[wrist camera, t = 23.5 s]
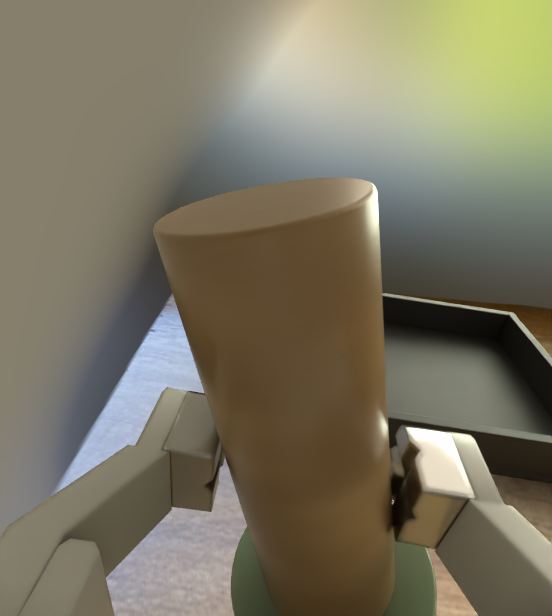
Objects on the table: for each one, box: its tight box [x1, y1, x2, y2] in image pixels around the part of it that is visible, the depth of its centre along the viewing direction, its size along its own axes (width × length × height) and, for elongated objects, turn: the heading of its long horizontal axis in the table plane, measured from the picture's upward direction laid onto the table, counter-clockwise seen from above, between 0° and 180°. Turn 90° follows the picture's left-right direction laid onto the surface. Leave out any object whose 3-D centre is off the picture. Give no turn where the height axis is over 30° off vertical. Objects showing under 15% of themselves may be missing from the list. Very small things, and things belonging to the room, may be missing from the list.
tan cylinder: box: [153, 178, 437, 616], centre depth 8 cm, size 5×5×12 cm
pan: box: [382, 293, 552, 483], centre depth 26 cm, size 17×14×3 cm
